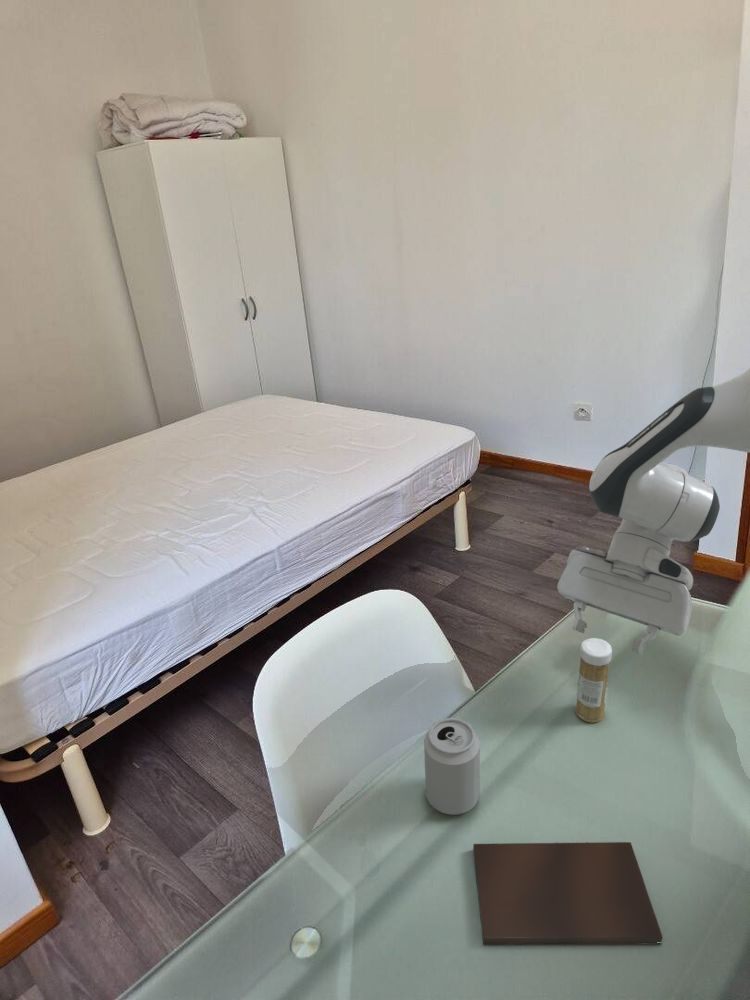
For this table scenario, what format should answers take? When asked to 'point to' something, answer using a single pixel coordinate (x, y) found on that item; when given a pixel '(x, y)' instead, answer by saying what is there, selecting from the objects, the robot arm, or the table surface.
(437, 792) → the can
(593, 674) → the spice jar
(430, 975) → the table surface
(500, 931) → the walnut board
